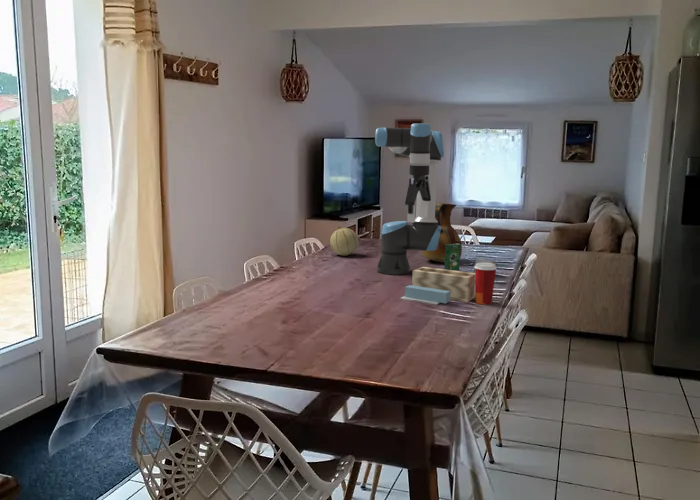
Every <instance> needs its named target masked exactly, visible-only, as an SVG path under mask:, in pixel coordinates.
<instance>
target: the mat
mask: <svg viewBox="0 0 700 500" xmlns="http://www.w3.org/2000/svg"><path fill="white" fill-rule="evenodd" d="M400 300H402V301H403V300H404V301H410V302H415V303H423V304H429V305H436V306H437V305H439V304H440V303H439V302H433V301H427V300H420V299H414V298H408V297H405V295H404V296H401V297H400Z"/></svg>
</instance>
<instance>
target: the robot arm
mask: <svg viewBox="0 0 700 500" xmlns="http://www.w3.org/2000/svg"><path fill="white" fill-rule="evenodd" d="M431 127H432V125H431V124H430V123H422V122H421V123H412V124H411V125H410V127H384V126H383V127H377V128H376V130H375V134H374V135H375V136H374V141H375V146H377V147H381V148H388V149H389V150H390V151H391V152H392V153H393V154H397V155H399V156H404V157H409V163H410V165H409V169H408V170H409V175H410V176H413V177H412V178H409V179H408V186H407V191H406V197H405V201H404V204H405V205H406V206H407V218H406V219H407V220H396V221H391V222H385V223H384V224H383V225H382V229H381V255H380V258H379V261H378V263H377V268H376V270H377V272H378V273H380V274H385V275H391V276H392V275H393V276H396V275H406V274H409V273H410V272H411V266H410V263H409V259H408V256H407V255H408V254H407V252H408V251H421V252H422V251H435V250H436V249H437V247H438V242H439V237H440V231H441V226H439V225H438V221H437V220H436V219H435V204H436V203H437V201H436V199H437V179H438V177H437V176H438V165H439V164H440V163H441V162H442V159H443V158H445V149H444V137H443V133H442V132H441V131H439V130H438V131H436V130H431ZM415 203H416V205H415ZM405 205H404V206H405ZM409 223H412V224H409Z"/></svg>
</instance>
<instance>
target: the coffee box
mask: <svg viewBox="0 0 700 500" xmlns="http://www.w3.org/2000/svg"><path fill="white" fill-rule="evenodd" d="M461 244H462V243H461ZM461 244H447V245H446V247H445V263H444V268H443V269H446V270H454V271H460V263H461V257H460V248H461Z"/></svg>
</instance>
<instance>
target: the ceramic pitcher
mask: <svg viewBox="0 0 700 500" xmlns="http://www.w3.org/2000/svg"><path fill="white" fill-rule="evenodd" d="M456 206H457V204H452V203H443V202H436V204H435V219H436V220H437V221H438V225H439V226H441V231H440V237H439V242H438V247H437V249H436V250H435V251H421V254H422V255H421V256H423V258H425V259H428V260H430V261H435V262H440V263H444V264H445V247H446V245H447V244H461V248H460V258H461V257H462V253H463V252H462V251H463V245H462V240H461V237H460V235H459V234H458V232H457V230H456V229H455V228H454V227H453V226H452V223H451V215H452V211H453V209H455V208H456Z"/></svg>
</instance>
